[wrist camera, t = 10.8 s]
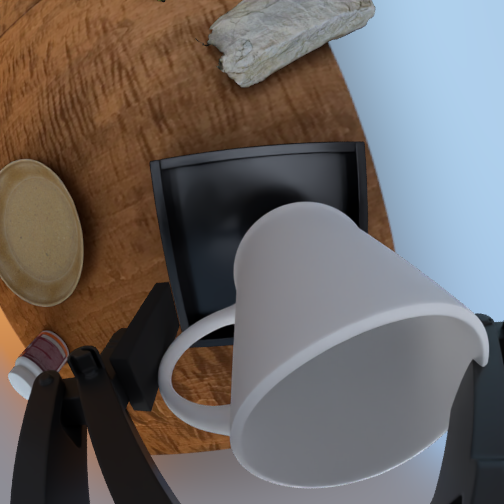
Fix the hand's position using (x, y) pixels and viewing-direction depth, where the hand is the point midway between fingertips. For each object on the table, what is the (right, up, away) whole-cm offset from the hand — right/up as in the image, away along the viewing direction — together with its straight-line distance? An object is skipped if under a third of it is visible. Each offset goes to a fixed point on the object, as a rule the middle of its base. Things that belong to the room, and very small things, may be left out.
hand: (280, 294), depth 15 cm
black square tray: (0, +3, +9) cm, 10 cm away
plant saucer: (-23, +5, +8) cm, 25 cm away
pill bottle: (-26, -9, +13) cm, 30 cm away
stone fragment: (+3, +23, +3) cm, 24 cm away
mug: (0, +1, +3) cm, 3 cm away
